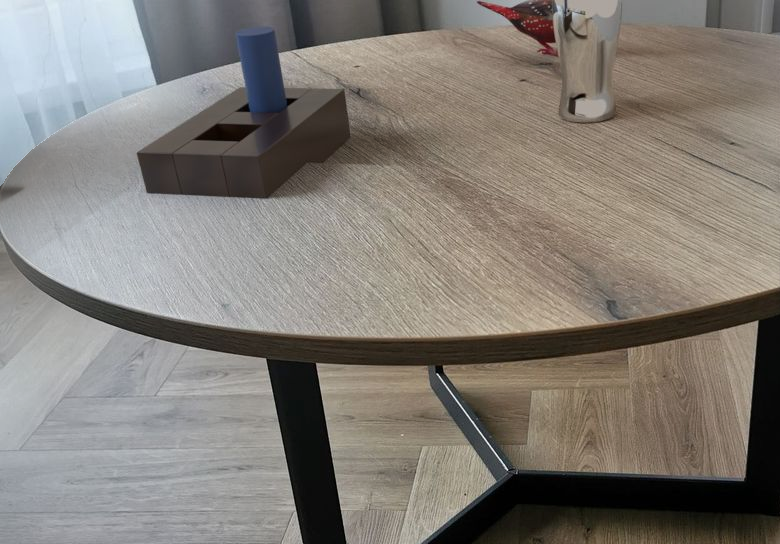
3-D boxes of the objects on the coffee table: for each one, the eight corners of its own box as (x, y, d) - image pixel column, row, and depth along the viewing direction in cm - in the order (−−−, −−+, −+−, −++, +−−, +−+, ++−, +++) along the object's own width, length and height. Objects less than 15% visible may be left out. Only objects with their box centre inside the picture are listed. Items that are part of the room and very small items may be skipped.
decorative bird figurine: (599, 62, 119) (599, -23, 114) (474, 52, 126) (468, -28, 121) (608, 56, 121) (608, -28, 116) (484, 47, 128) (479, -32, 123)
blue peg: (252, 160, 95) (228, 35, 88) (268, 147, 98) (245, 26, 91) (286, 161, 94) (264, 35, 88) (300, 148, 97) (280, 26, 91)
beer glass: (634, 115, 100) (637, -38, 93) (579, 129, 97) (578, -28, 90) (594, 100, 106) (594, -46, 98) (541, 113, 103) (537, -36, 95)
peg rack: (149, 206, 85) (135, 152, 83) (248, 133, 102) (239, 86, 99) (268, 211, 83) (258, 156, 80) (351, 136, 99) (344, 88, 97)
